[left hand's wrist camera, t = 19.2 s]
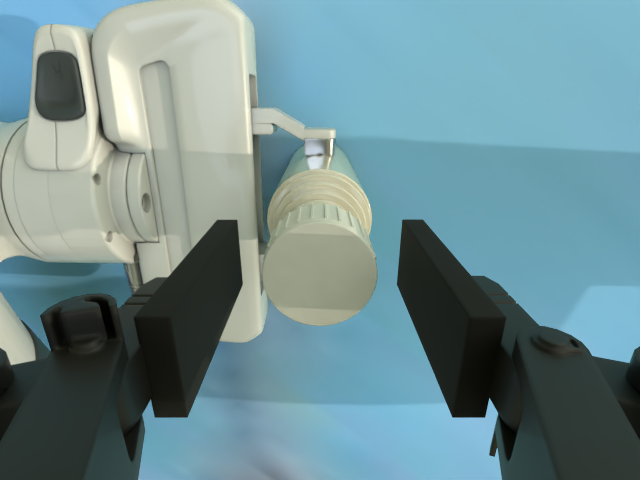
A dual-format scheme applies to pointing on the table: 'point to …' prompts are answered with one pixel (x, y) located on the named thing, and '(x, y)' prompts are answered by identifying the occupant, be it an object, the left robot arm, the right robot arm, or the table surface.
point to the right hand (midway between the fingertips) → (333, 194)
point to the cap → (319, 265)
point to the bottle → (319, 187)
